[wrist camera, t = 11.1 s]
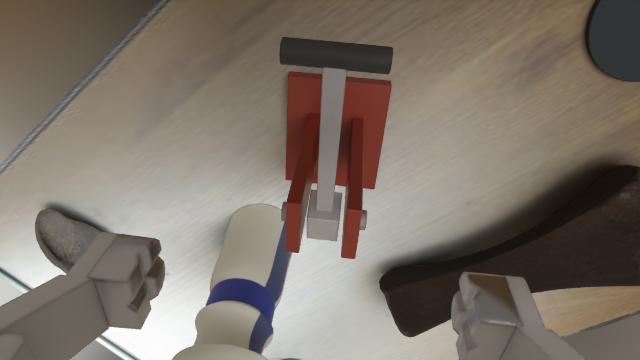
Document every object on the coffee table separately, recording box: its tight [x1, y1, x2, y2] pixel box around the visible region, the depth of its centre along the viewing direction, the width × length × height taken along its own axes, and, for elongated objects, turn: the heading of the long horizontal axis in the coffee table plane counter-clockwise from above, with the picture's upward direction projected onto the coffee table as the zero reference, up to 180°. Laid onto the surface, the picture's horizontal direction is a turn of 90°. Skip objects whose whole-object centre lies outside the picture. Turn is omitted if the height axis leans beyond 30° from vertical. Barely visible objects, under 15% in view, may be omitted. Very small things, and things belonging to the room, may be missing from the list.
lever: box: [280, 37, 393, 241], centre depth 26 cm, size 16×5×2 cm, turn 176°
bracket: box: [281, 72, 391, 259], centre depth 36 cm, size 11×9×15 cm
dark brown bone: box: [379, 165, 640, 337], centre depth 45 cm, size 11×10×28 cm
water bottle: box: [172, 204, 292, 360], centre depth 40 cm, size 8×9×25 cm
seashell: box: [35, 209, 101, 274], centre depth 51 cm, size 12×8×5 cm
